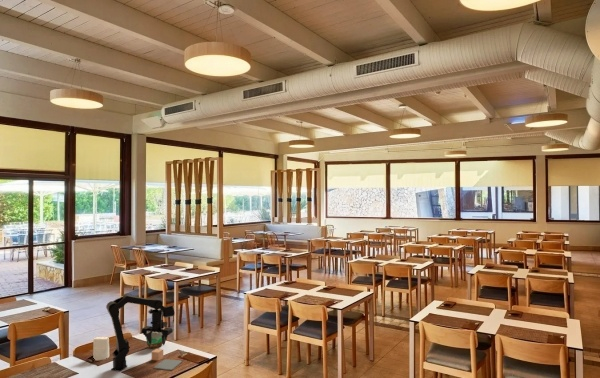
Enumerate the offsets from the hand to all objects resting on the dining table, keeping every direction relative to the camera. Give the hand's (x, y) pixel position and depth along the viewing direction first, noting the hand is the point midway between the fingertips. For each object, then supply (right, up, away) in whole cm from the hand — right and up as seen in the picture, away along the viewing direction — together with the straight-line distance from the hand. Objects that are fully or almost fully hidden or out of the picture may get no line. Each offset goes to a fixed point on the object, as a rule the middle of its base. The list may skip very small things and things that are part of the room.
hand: (157, 344), depth 251 cm
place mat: (+10, -9, -10) cm, 16 cm away
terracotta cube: (0, -9, 0) cm, 9 cm away
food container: (-8, -9, +18) cm, 21 cm away
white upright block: (-36, -10, +3) cm, 38 cm away
